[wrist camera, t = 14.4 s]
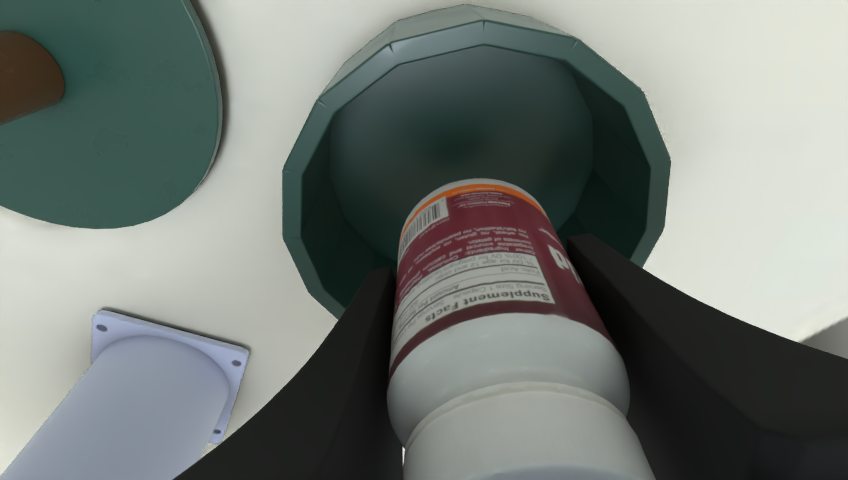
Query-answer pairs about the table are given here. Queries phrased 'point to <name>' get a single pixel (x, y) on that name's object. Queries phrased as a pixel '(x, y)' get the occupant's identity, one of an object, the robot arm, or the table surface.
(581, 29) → the table surface
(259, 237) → the table surface
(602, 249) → the robot arm
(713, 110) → the table surface
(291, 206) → the pan
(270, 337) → the table surface
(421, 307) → the pill bottle
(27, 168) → the pan lid
